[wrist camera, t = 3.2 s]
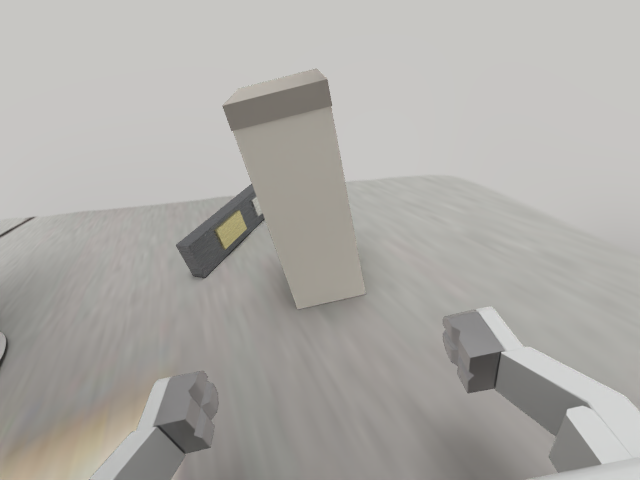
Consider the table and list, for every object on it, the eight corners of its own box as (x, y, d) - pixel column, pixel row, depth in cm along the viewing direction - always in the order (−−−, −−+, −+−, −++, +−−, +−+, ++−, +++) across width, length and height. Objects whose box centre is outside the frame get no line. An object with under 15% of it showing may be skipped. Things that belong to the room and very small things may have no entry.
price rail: (283, 201, 38) (274, 174, 36) (206, 278, 28) (189, 246, 26) (271, 200, 39) (262, 174, 37) (193, 275, 29) (175, 245, 27)
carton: (296, 310, 23) (222, 105, 15) (294, 259, 28) (238, 88, 20) (366, 294, 22) (327, 78, 15) (351, 245, 28) (316, 68, 20)
